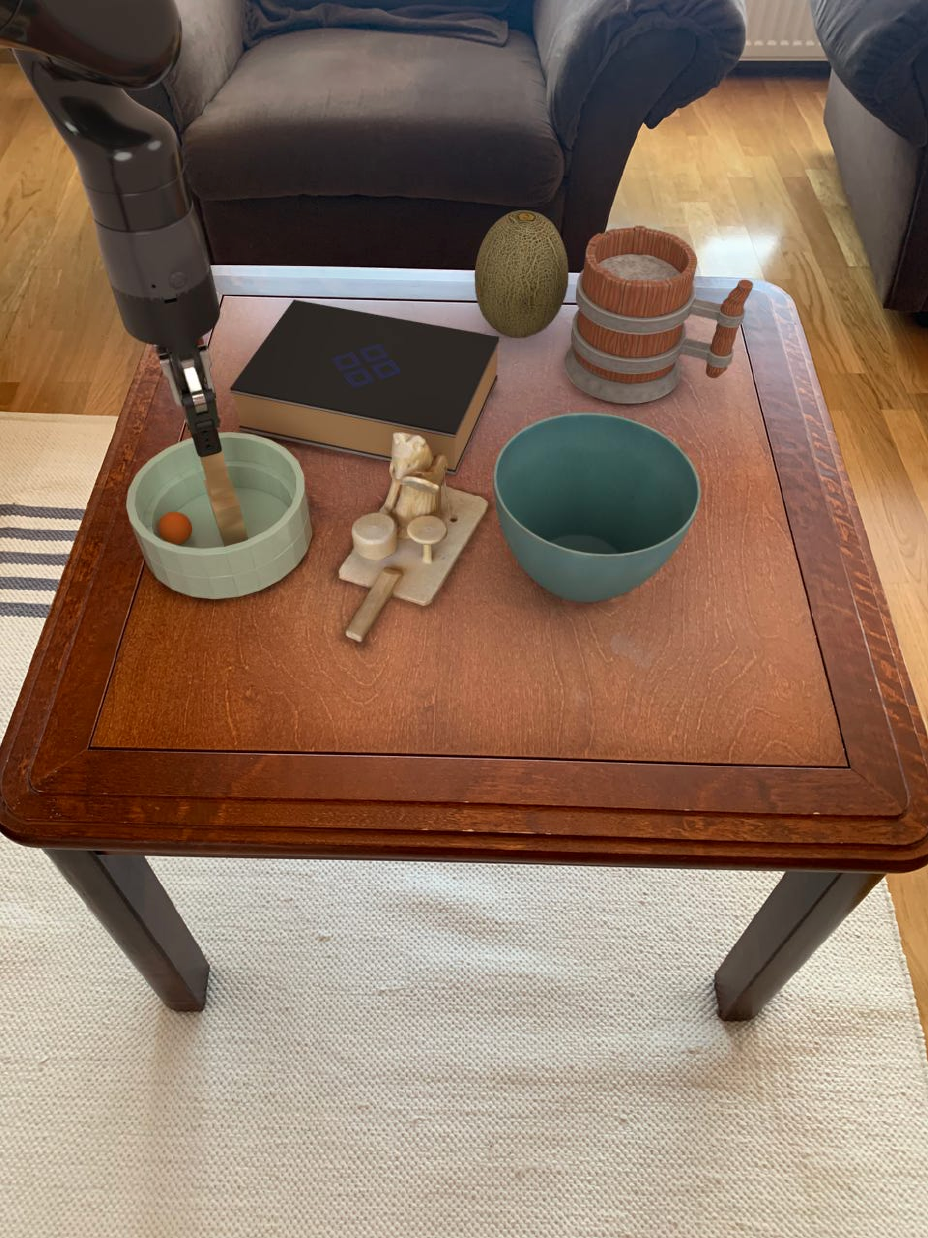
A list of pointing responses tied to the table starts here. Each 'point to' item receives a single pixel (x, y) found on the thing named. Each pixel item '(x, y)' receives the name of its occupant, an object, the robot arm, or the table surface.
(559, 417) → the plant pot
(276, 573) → the bowl
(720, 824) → the table surface
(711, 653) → the table surface
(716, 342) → the mug
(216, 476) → the stick
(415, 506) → the wooden toy
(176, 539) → the ball
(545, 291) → the fruit
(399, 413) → the book
